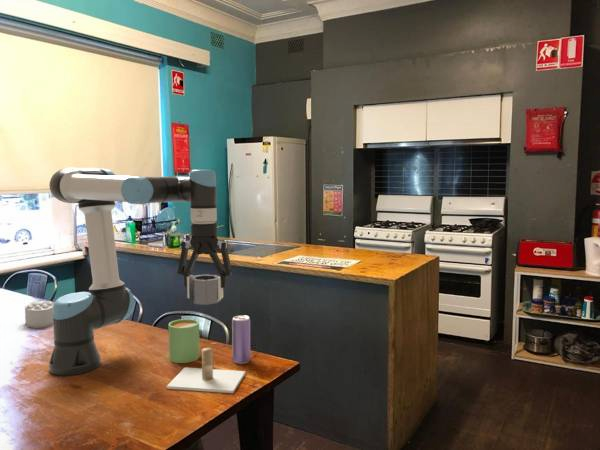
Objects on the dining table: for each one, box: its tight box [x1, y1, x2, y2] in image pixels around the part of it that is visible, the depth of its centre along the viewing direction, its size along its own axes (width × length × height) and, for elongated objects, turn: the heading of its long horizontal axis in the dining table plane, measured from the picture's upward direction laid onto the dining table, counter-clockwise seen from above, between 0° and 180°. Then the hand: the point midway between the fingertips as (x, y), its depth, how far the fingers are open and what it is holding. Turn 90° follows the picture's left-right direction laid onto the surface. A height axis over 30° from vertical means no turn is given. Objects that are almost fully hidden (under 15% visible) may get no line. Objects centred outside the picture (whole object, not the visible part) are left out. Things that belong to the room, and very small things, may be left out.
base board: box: [166, 366, 246, 394], centre depth 146 cm, size 20×14×1 cm
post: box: [201, 347, 214, 381], centre depth 146 cm, size 3×3×9 cm
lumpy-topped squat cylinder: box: [24, 300, 54, 328], centre depth 202 cm, size 10×13×9 cm
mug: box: [168, 318, 201, 364], centre depth 165 cm, size 13×10×12 cm
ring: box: [188, 274, 221, 306], centre depth 143 cm, size 9×9×7 cm
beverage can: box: [231, 314, 251, 365], centre depth 161 cm, size 6×6×15 cm
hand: (205, 297), depth 144 cm, fingers closed on ring, 9 cm apart
